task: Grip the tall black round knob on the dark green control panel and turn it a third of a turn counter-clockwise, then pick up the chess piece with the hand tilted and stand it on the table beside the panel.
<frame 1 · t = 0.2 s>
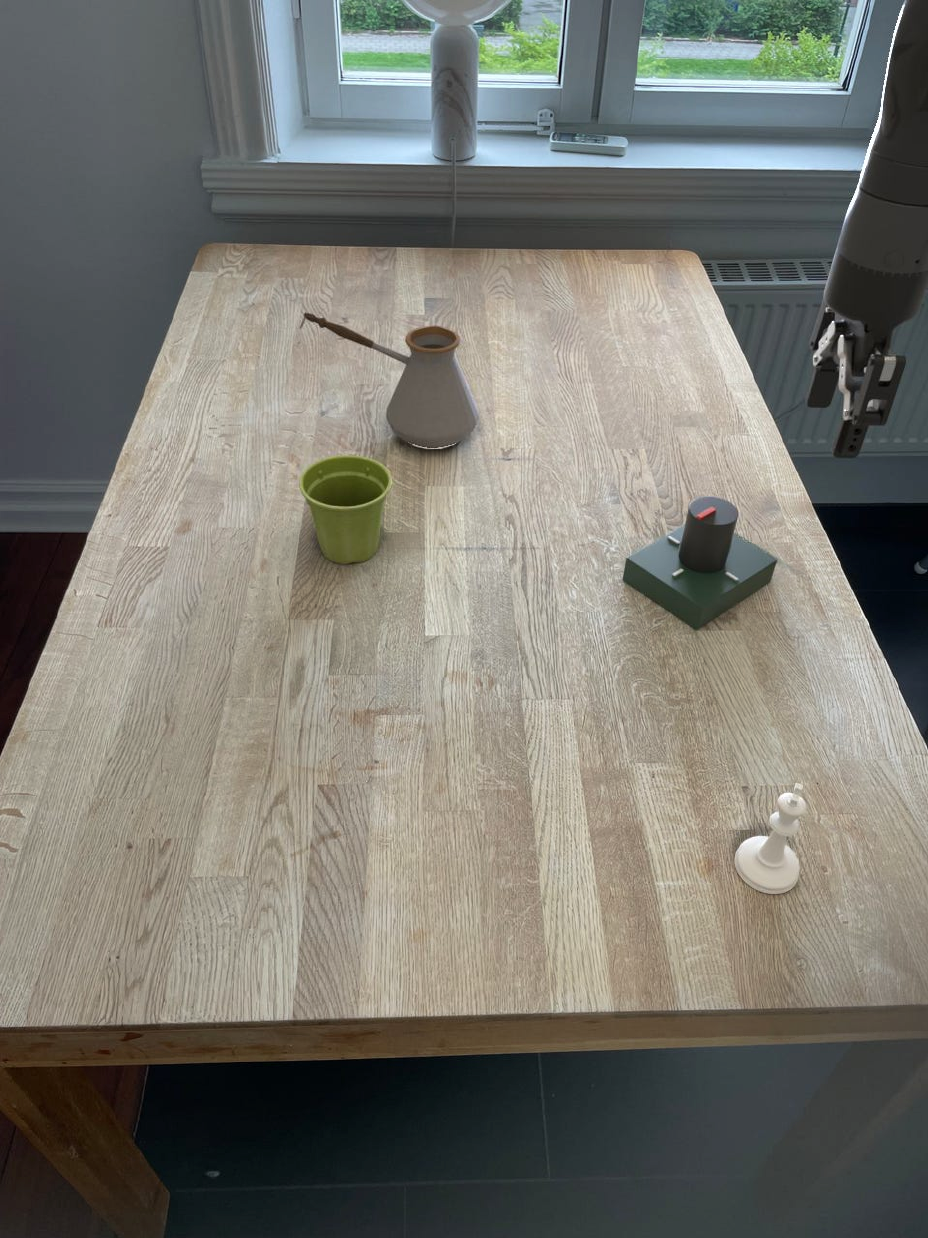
hand: (829, 429, 87), 19 cm above the table, tool pointing down, fingers open, 8 cm apart
plant pot: (350, 549, 104), on the table
chess piece: (765, 868, 76), on the table
coffee pot: (393, 432, 122), on the table
knob: (708, 533, 97), point 6 cm above the table, hinge at 0.0°
panel: (696, 580, 101), on the table
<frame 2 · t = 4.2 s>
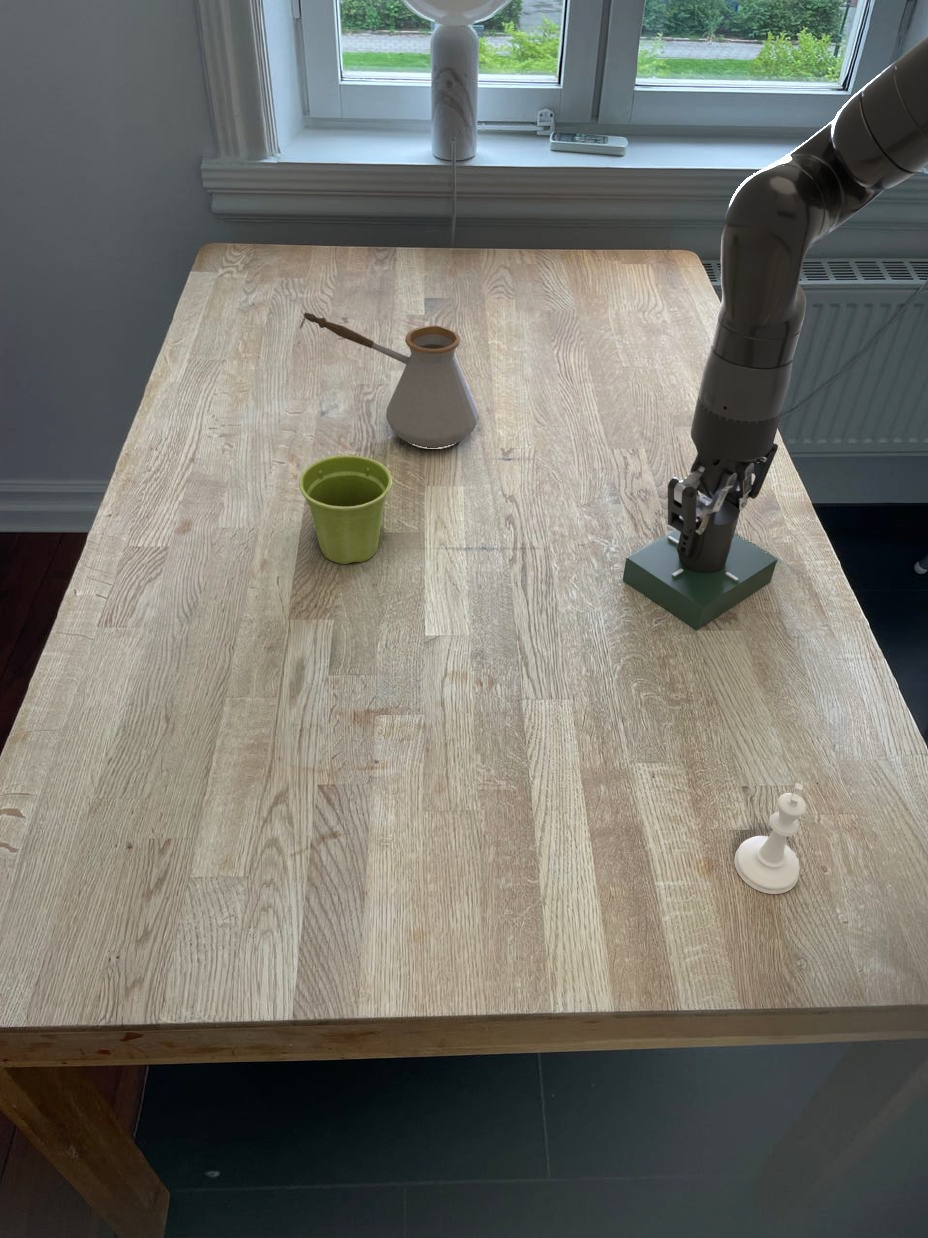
hand: (705, 546, 98), 5 cm above the table, tool pointing down, fingers closed on knob, 5 cm apart
knob: (708, 533, 97), point 6 cm above the table, hinge at 0.1°, touching gripper
everything else where it was.
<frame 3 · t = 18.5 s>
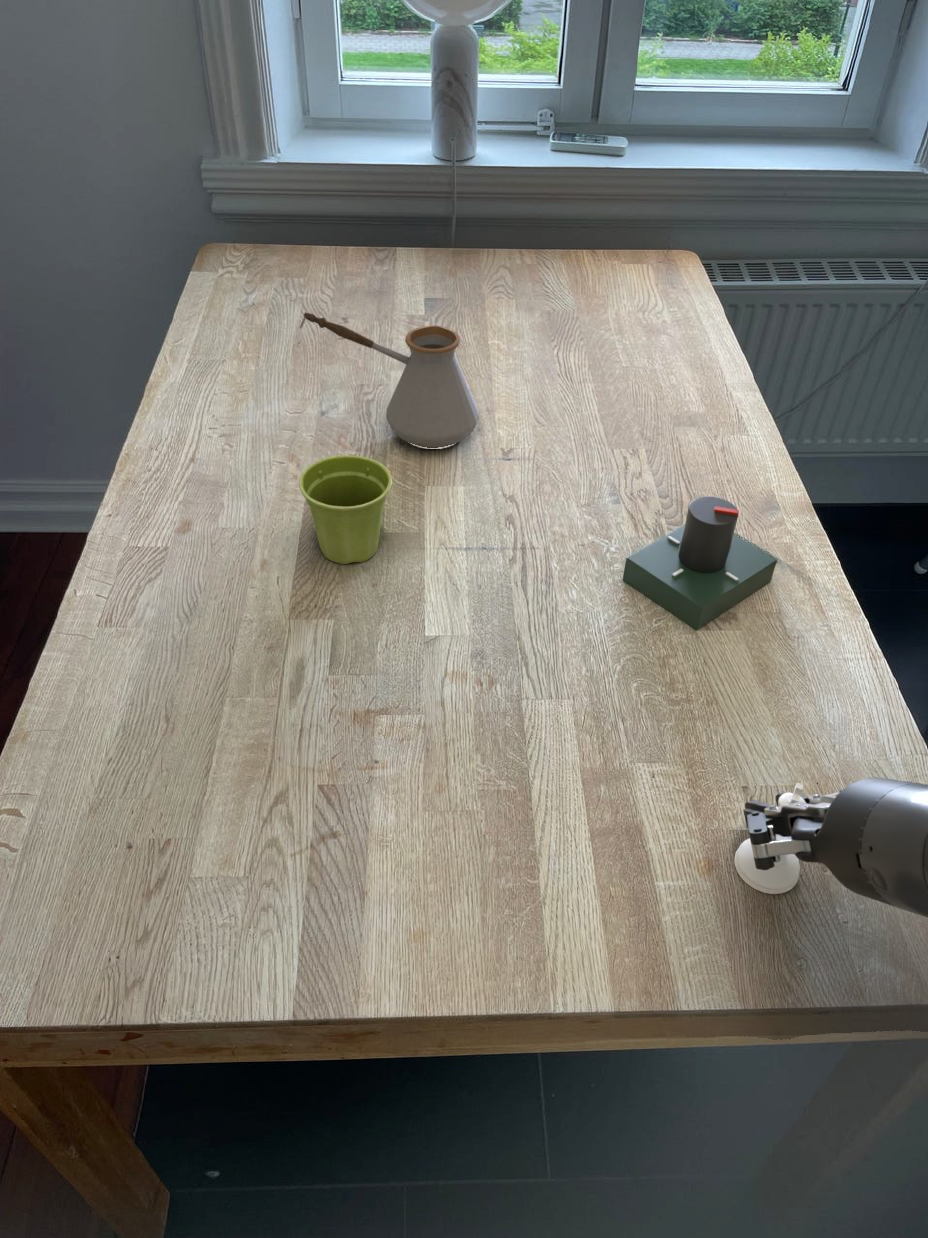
hand: (766, 811, 74), 4 cm above the table, tool tilted 45°, fingers closed on chess piece
chess piece: (765, 868, 76), on the table, touching gripper
knob: (708, 533, 97), point 6 cm above the table, hinge at 126.5°
everything else where it was.
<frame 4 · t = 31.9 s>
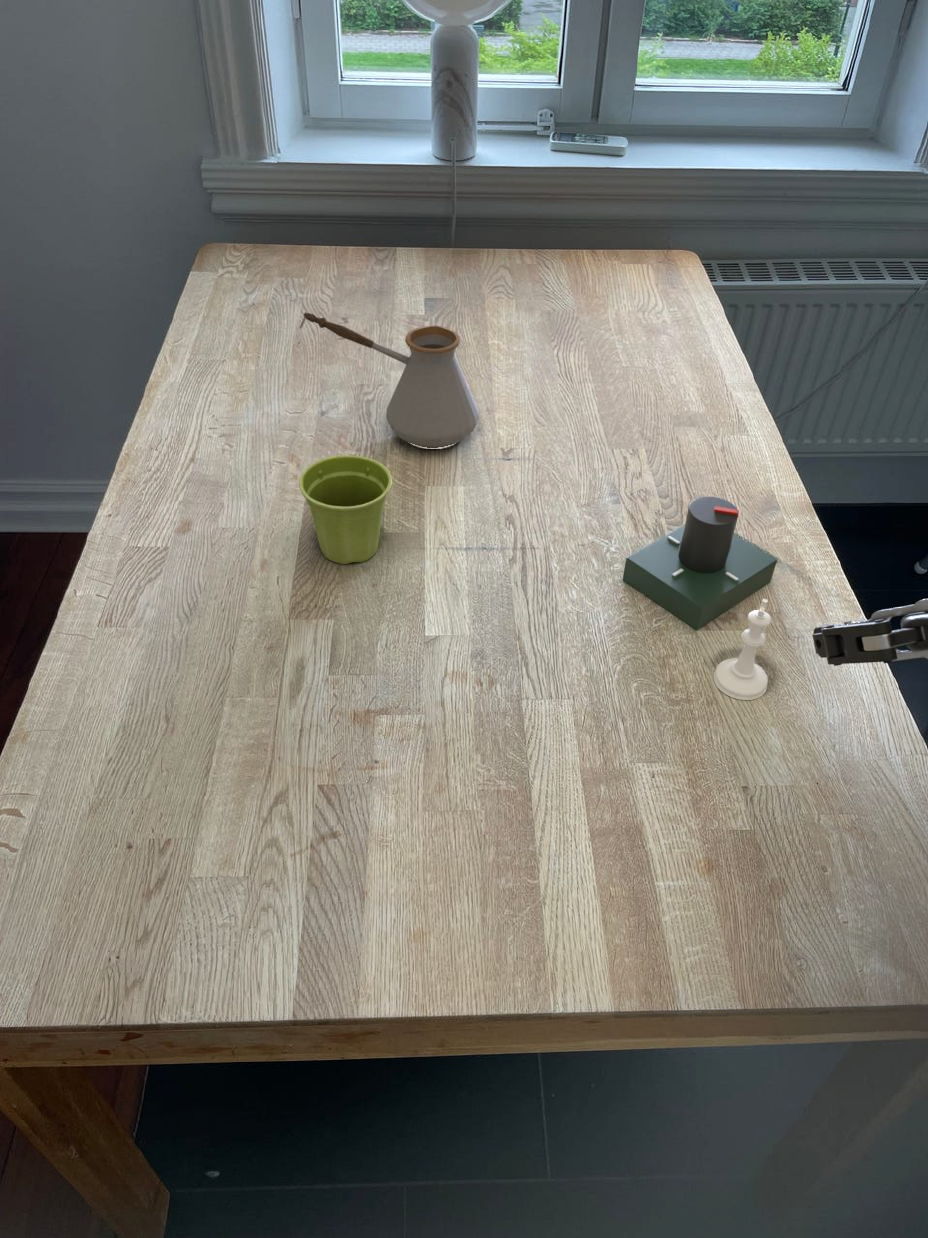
hand: (869, 631, 71), 17 cm above the table, tool tilted 45°, fingers open, 8 cm apart
chess piece: (739, 682, 91), on the table
everything else where it was.
at the end: knob at +126° (first picture: +0°); chess piece inside the target area on the table beside the panel (0.3 cm from its centre), on the table; chess piece tilted 0° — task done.
